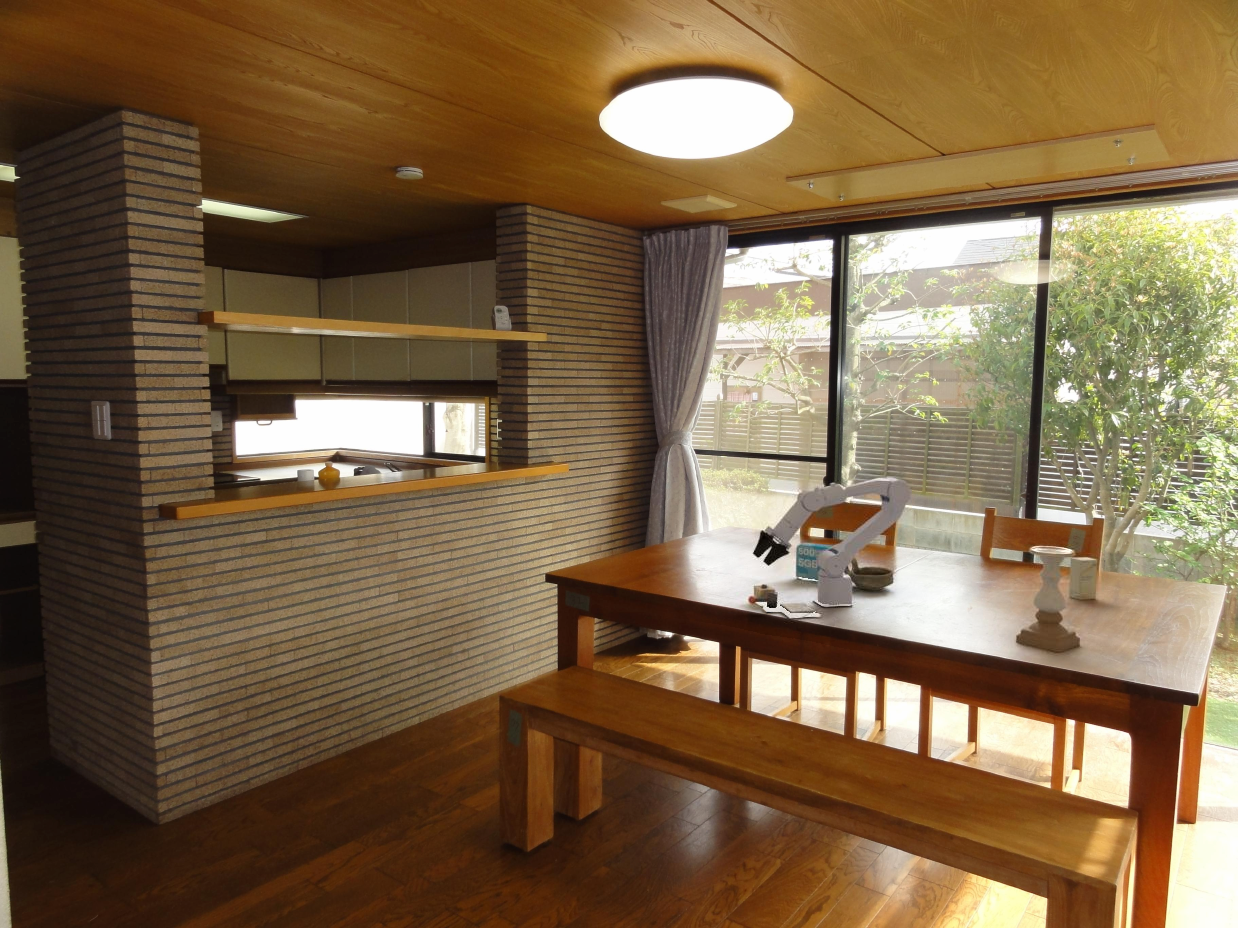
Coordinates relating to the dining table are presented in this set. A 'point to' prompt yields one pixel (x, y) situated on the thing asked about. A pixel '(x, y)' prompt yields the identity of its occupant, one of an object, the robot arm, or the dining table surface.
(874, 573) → the bowl
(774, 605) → the lever
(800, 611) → the grey square slab
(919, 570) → the dining table surface
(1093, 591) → the skincare box
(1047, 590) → the candle holder
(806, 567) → the data package
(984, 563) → the dining table surface
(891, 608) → the dining table surface
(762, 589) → the block
